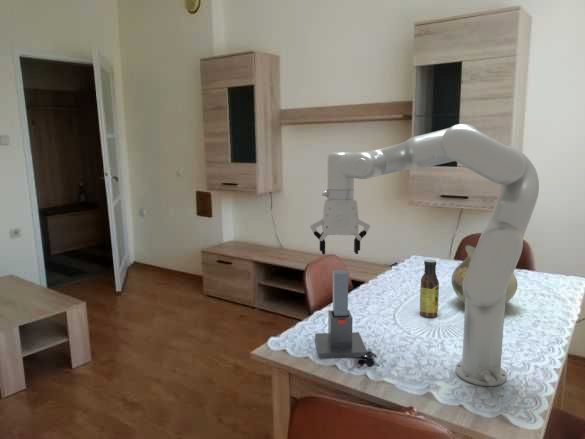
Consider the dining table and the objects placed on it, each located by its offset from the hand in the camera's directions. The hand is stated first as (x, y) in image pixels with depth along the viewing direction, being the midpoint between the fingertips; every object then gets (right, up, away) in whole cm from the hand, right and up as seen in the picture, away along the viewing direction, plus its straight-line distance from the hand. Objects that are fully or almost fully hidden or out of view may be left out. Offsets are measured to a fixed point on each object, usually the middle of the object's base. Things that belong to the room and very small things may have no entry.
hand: (339, 253), depth 137 cm
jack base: (+1, -29, +5) cm, 29 cm away
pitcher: (+56, -23, +37) cm, 71 cm away
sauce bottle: (+35, -24, +30) cm, 52 cm away
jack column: (+1, -27, +5) cm, 28 cm away
